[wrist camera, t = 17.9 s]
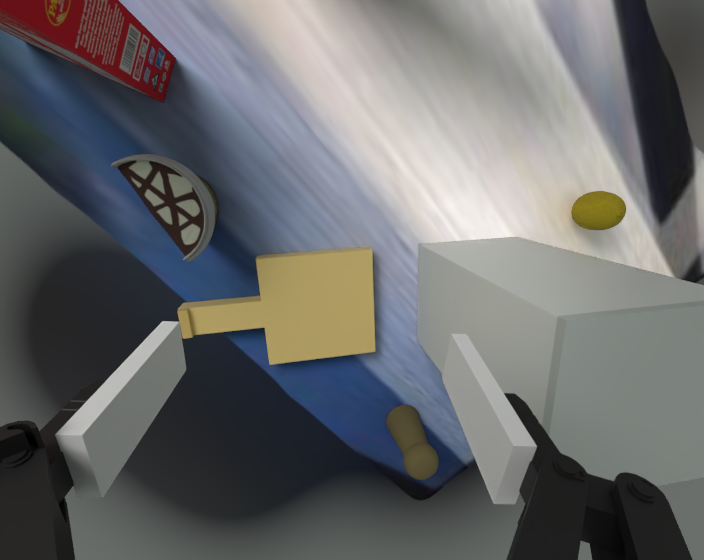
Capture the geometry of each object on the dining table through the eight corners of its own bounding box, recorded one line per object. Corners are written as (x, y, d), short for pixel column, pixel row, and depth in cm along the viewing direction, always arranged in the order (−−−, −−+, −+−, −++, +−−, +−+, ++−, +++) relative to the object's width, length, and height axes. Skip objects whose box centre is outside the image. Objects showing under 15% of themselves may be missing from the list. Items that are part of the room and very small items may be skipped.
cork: (379, 422, 59) (396, 474, 49) (403, 398, 59) (426, 445, 48) (402, 439, 61) (423, 493, 51) (426, 417, 61) (452, 466, 50)
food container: (247, 224, 47) (234, 236, 37) (208, 247, 47) (186, 264, 38) (190, 139, 43) (159, 128, 34) (148, 164, 43) (106, 160, 34)
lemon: (588, 184, 53) (637, 185, 45) (594, 218, 55) (641, 224, 47) (556, 198, 53) (600, 201, 45) (562, 231, 55) (606, 240, 47)
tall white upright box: (415, 341, 56) (538, 508, 28) (417, 242, 51) (566, 320, 23) (508, 331, 58) (710, 476, 30) (518, 235, 54) (768, 298, 25)
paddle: (196, 365, 51) (189, 377, 48) (175, 261, 47) (166, 267, 44) (371, 344, 55) (376, 354, 52) (368, 246, 51) (373, 250, 47)
